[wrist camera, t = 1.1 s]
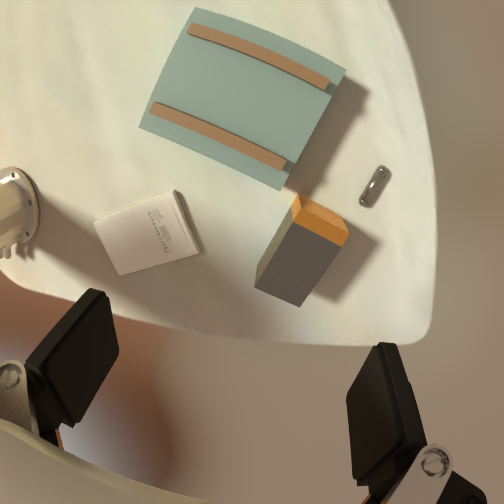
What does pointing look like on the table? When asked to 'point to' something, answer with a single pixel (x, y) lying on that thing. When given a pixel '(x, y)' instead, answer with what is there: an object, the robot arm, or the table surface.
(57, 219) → the table surface
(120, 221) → the external hard drive
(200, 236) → the table surface
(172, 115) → the stand
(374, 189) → the grey metal rounded bar
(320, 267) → the block
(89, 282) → the table surface
